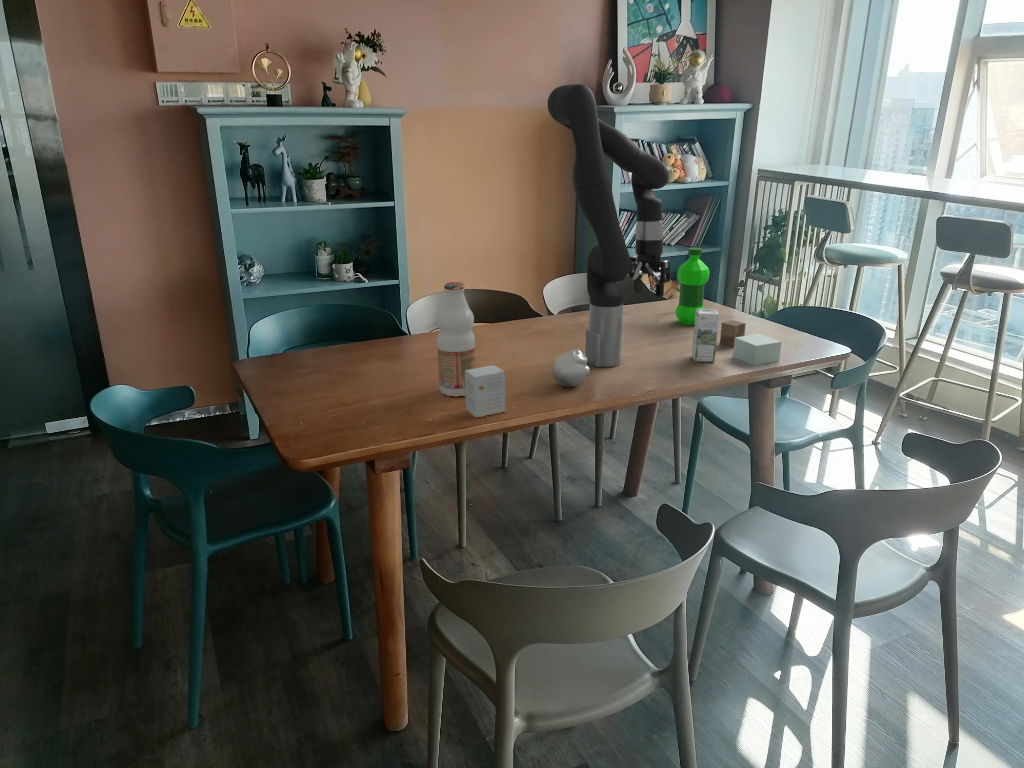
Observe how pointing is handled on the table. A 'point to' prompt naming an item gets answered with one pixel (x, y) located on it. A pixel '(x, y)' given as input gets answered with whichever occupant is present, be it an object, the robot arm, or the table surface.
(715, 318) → the milk carton
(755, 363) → the green block
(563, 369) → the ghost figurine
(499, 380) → the small box
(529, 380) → the table surface
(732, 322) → the walnut block
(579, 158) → the robot arm
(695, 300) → the plastic bottle
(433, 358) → the table surface
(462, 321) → the fruit juice
